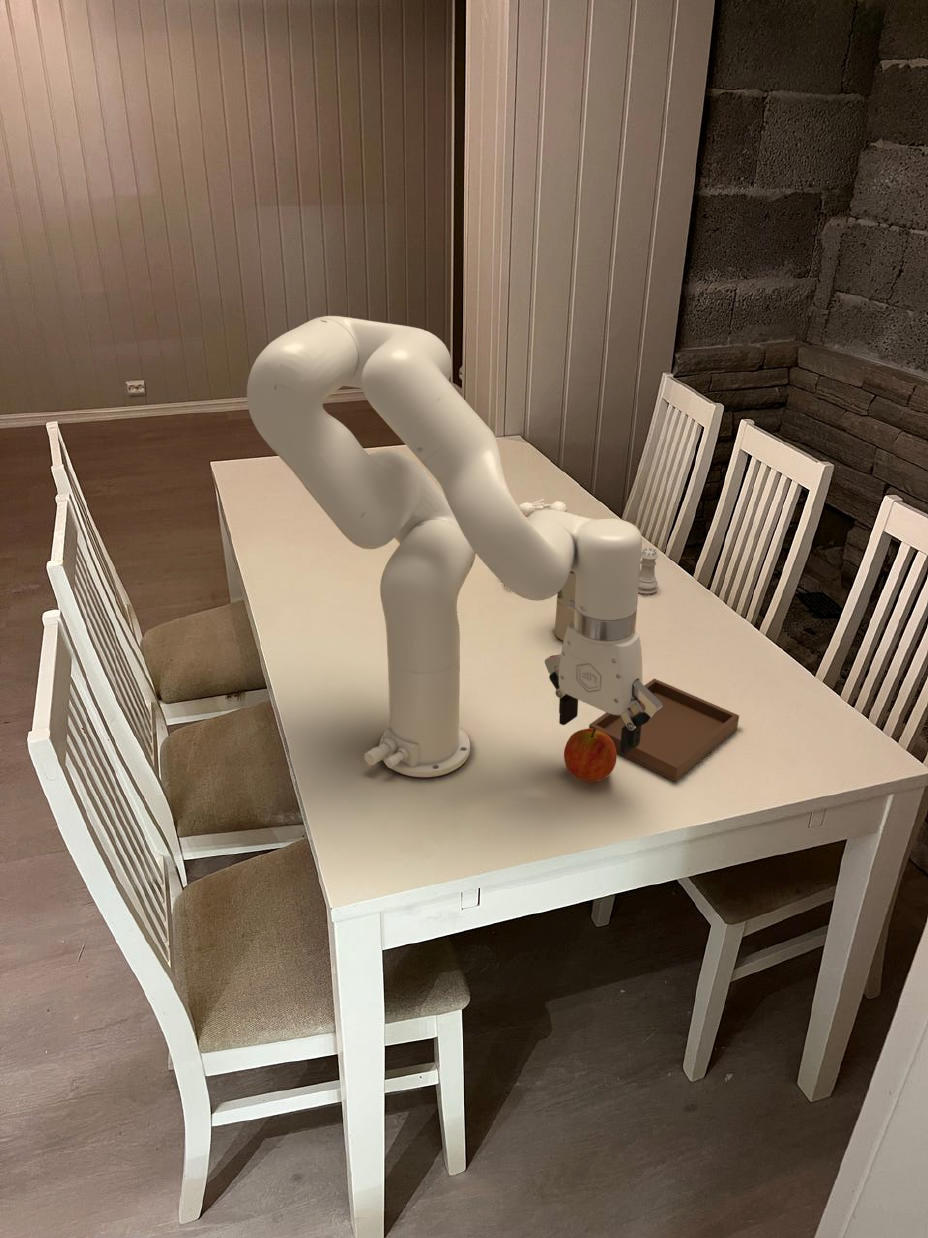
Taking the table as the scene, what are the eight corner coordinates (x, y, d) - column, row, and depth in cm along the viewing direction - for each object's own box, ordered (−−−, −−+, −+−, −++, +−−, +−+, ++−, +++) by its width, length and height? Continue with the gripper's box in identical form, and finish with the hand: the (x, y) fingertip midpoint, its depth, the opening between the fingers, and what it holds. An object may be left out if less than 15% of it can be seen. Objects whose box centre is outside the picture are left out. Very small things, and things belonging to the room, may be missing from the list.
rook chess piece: (629, 592, 176) (633, 552, 172) (637, 582, 179) (641, 543, 175) (653, 597, 174) (657, 557, 170) (660, 587, 177) (665, 548, 174)
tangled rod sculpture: (467, 539, 198) (467, 521, 196) (479, 508, 210) (479, 491, 208) (561, 545, 195) (561, 527, 193) (568, 513, 207) (568, 495, 204)
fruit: (553, 766, 130) (557, 718, 126) (599, 756, 132) (603, 708, 128) (576, 798, 124) (581, 748, 120) (623, 786, 126) (629, 737, 123)
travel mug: (605, 626, 164) (614, 530, 155) (598, 649, 157) (607, 550, 149) (559, 620, 166) (566, 524, 157) (550, 642, 159) (557, 544, 151)
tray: (675, 782, 127) (677, 768, 126) (587, 738, 136) (588, 724, 135) (737, 729, 138) (739, 715, 137) (652, 691, 147) (654, 678, 146)
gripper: (530, 608, 119) (528, 721, 127) (648, 655, 109) (637, 775, 117) (566, 588, 124) (562, 698, 132) (683, 630, 114) (670, 747, 122)
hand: (598, 734), depth 125 cm, fingers open, 9 cm apart
